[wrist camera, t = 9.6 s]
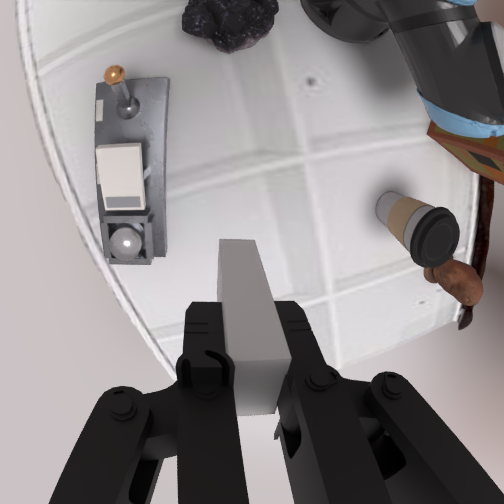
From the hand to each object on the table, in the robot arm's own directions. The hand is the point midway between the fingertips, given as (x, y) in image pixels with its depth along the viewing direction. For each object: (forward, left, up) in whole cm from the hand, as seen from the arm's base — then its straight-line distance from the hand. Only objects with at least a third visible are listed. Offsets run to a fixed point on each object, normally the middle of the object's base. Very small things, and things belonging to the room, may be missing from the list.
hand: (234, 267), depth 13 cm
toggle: (-7, -12, -27) cm, 31 cm away
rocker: (+2, -12, -25) cm, 27 cm away
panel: (+2, -12, -30) cm, 33 cm away
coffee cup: (+6, +30, -31) cm, 44 cm away
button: (+11, -12, -27) cm, 32 cm away
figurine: (+18, +49, -31) cm, 61 cm away
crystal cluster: (-22, 0, -31) cm, 38 cm away
